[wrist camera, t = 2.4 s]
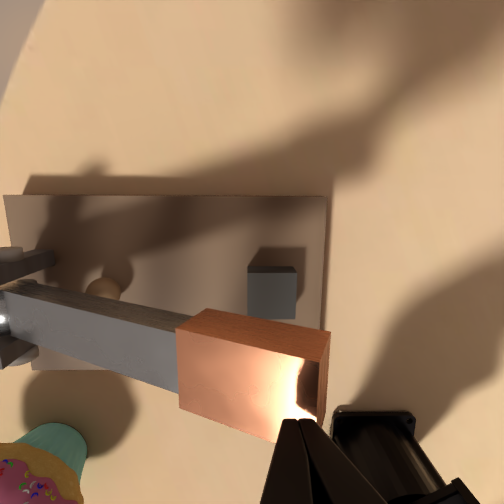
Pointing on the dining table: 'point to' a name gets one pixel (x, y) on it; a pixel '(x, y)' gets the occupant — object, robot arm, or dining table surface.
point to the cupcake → (43, 466)
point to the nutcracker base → (168, 256)
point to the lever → (183, 353)
